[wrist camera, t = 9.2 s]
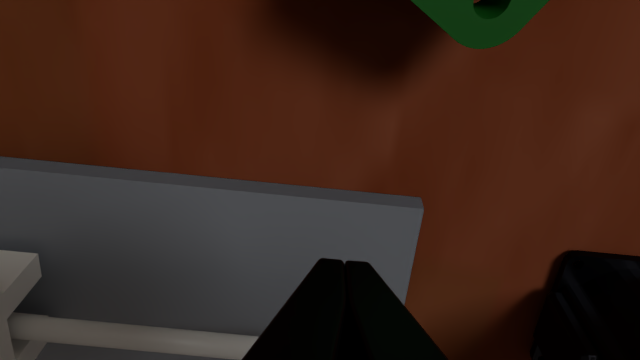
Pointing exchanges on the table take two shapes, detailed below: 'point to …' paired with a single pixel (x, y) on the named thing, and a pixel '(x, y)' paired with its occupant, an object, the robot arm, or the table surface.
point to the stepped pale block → (17, 301)
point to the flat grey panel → (181, 255)
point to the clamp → (481, 19)
